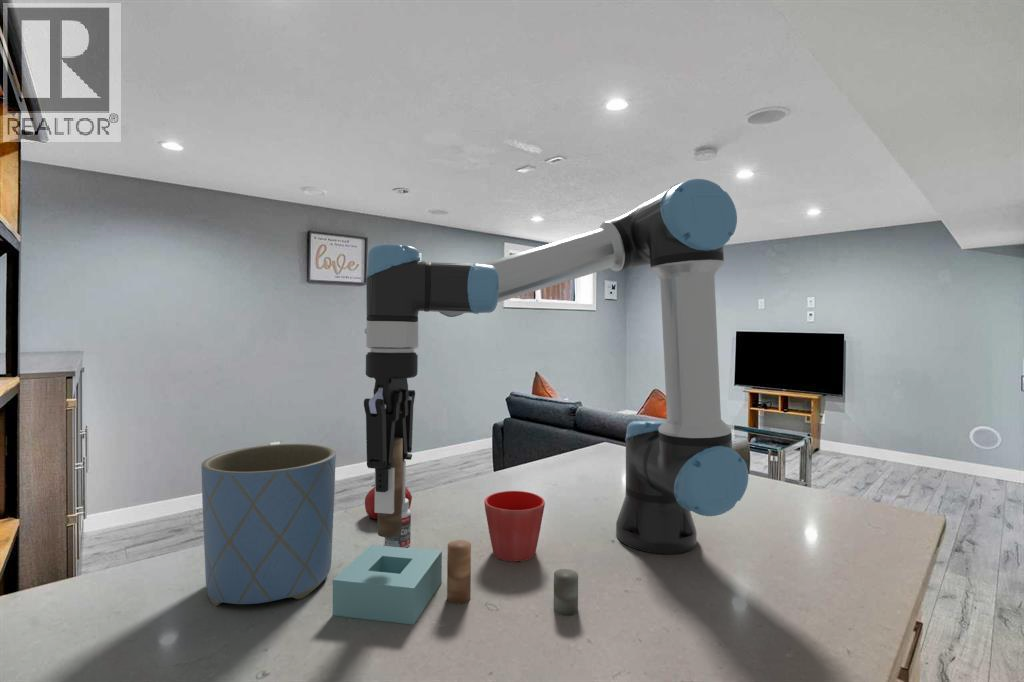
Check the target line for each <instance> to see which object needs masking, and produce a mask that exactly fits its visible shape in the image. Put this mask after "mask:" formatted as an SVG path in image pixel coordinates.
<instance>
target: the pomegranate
mask: <svg viewBox="0 0 1024 682" xmlns="http://www.w3.org/2000/svg"><path fill="white" fill-rule="evenodd" d="M406 481H407V479H405V482H406ZM372 487H373V488H371V489H370V490H369V491H368V493H366V496H365V498H364V509H365V512H366V513H365V514H367V516H368V517H369V518H372V519H375V520H378V513H374V510H375V483H374V484H373V485H372ZM405 498H407V499H408V500H409V508H408V509H409V510H410V508H411V504H412V500H413V495H412V493H411V491H409V489H408V488H407V486H405Z"/></svg>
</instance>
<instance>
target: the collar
mask: <svg viewBox="0 0 1024 682" xmlns="http://www.w3.org/2000/svg"><path fill="white" fill-rule="evenodd" d="M442 564H443V551H442V550H436V549H435V550H433V549H424V548H423V549H421V548H412V547H406V548H402V547H390V546H385V545H378V544H377V545H376V544H371V545H370V546H369V547H367V548H366V549H365V550H364V551H363V552H361V553H360V555H358V556H357V558H355V559H354V560H353V561H351V562H350V563H349V565H347V566H346V567H345V568H344V569H343V570H342V571H341V572H340V573H338V574H337V575H336V576H335V577H334V578H333V579H332V616H334V617H344V618H354V619H360V620H369V621H379V622H386V623H396V624H403V625H404V624H405V625H413V626H415V624H416V622H417V621H418V619H419V618H420V616H421V615H422V613H423V612H424V610H425V608H426V607H427V605H428V604H429V603H430V601H431V600H432V598H433V596H434V595H435V593H436V592H437V590H438V588H439V587H440V586H441V583H442V582H443V581H442V578H443V573H442V571H443V570H442V569H443V565H442Z"/></svg>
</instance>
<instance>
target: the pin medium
mask: <svg viewBox="0 0 1024 682" xmlns="http://www.w3.org/2000/svg"><path fill="white" fill-rule="evenodd" d="M446 562H447V565H446V566H447V567H446V568H447V571H446V572H447V573H446V574H447V575H446V577H447V578H446V580H447V581H446V585H447V586H446V588H447V589H446V600H447V602H449V603H450V604H454V605H461V604H466V603H467V602H469V601H470V600H471V591H472V590H471V588H472V587H471V586H472V585H471V584H472V583H471V582H472V578H471V577H472V572H471V571H472V563H471V562H472V543H471V542H470V541H468V540H465V539H455V540H452V541H449V542H448V543H447V561H446Z"/></svg>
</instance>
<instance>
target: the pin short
mask: <svg viewBox="0 0 1024 682" xmlns="http://www.w3.org/2000/svg"><path fill="white" fill-rule="evenodd" d="M553 610H554V612H555V613H556V614H558V615H561V616H564V617H565V616H566V617H569V616H573V615H575V614H577V613H578V610H579V573H578V572H577V571H576V570H573V569H570V568H561V569H557V570H555V571H554V572H553Z"/></svg>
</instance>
